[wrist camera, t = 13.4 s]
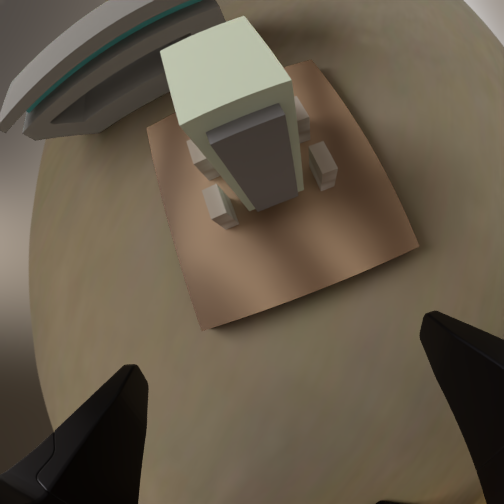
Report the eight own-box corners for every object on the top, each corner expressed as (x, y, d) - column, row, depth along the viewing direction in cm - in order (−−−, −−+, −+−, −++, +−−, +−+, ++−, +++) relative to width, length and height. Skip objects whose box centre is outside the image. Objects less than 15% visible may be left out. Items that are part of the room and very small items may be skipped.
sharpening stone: (230, 24, 24) (202, -44, 14) (251, 57, 23) (221, -27, 12) (63, 118, 28) (11, 82, 17) (60, 161, 27) (-5, 128, 16)
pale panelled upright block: (252, 219, 19) (183, 138, 8) (227, 152, 20) (159, 51, 9) (307, 197, 18) (299, 91, 8) (277, 132, 19) (243, 15, 9)
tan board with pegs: (311, 69, 21) (309, 35, 17) (412, 249, 18) (437, 238, 13) (154, 135, 24) (129, 111, 19) (209, 328, 20) (183, 337, 16)
